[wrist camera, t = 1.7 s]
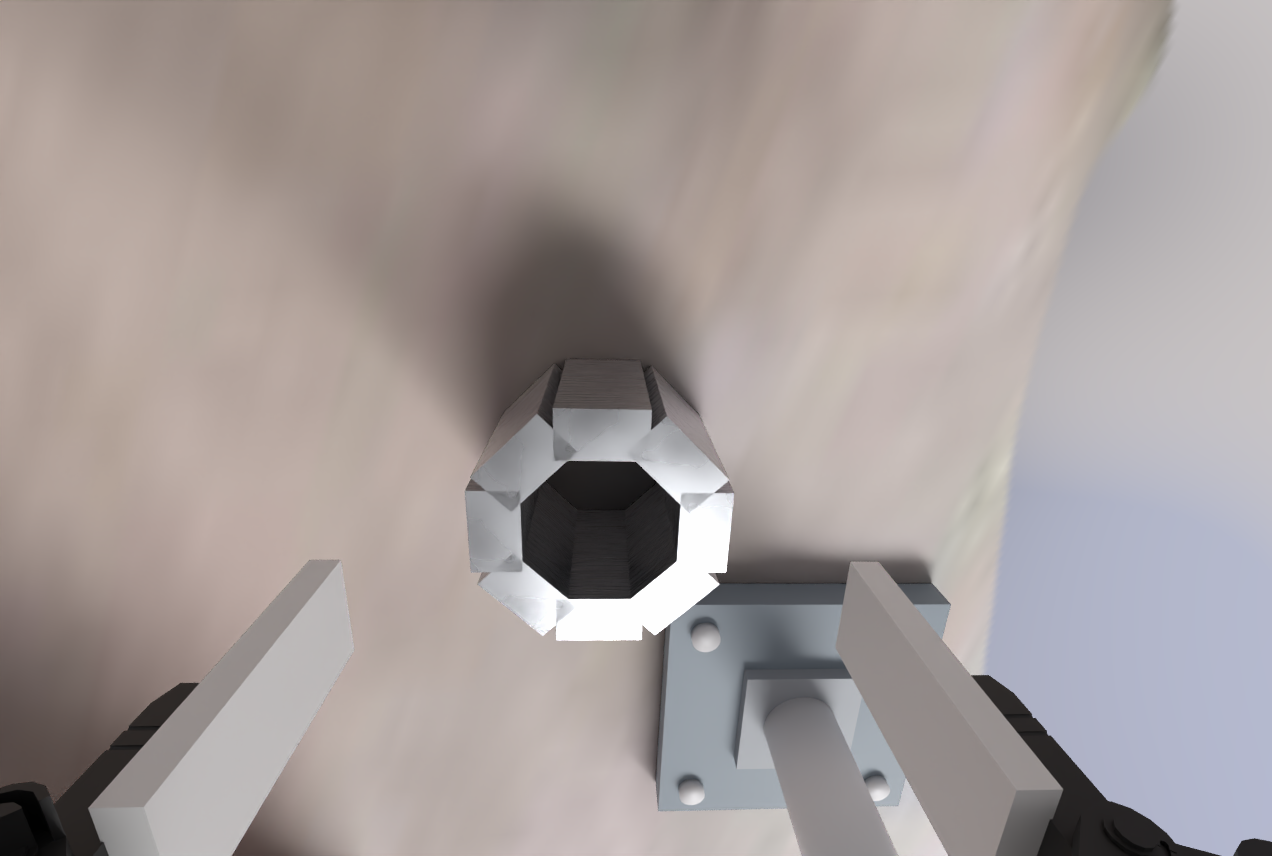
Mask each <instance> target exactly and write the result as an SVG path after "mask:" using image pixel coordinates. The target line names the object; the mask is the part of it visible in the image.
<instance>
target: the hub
mask: <svg viewBox="0 0 1272 856" xmlns="http://www.w3.org/2000/svg"><path fill="white" fill-rule="evenodd" d="M567 461H627V462H637V463H638V464H639V465H640V466H641V467H642V468H643V469H644V470H645V471H646V472H647V473H648V474H649V475H650V476H651V477H652V478H653V479H654V480H655V481H656V482H657V483H656V484H655V485H654V486H653V487H652V488H650V489H649V490H648V491H647V492H646V493H645V494H643V495H642V496H641V497H640V498H639V499H638V500H636V501H635V502H634V503H633V504H632V505H631V506H629V507H628V508H627V509H626V510H577V509H575V508H574V507H573V506H572V505H571V504H570V503H569V502H568V501H566V500H565V499H564V498H563V497H562V496H561V495H560V494H559V493H558V492H556V491H555V490H554V489H553V488H552V487H551V486H550V485H549V484H547V483H546V482H545V481H546V480H547V479H548V478H549V477H550V476H551V475H552V474H553V473H555V472H556V471H557V470H558V469H559V468H560V467H561V466H562V465H563V464H565V463H566V462H567ZM470 478H471V480H470V482H469V484H468V486H467V488H466V490H465V500H466V514H467V527H468V541H469V555H470V568H471V572H482V573H481V576H480V579H479V582H478V585H479V586H480V587H482V588H483V589H484V590H485V591H487V592H488V593H489V594H490V595H492V596H493V597H494V598H495V599H497V600H498V601H499V602H500V603H502V604H503V605H504V606H506V607H507V608H508V609H509V610H511V611H512V612H513V613H514V614H516V615H517V616H518V617H519V618H521V619H522V620H523V621H525V622H526V623H527V624H528V625H530V626H531V627H532V628H533V629H535V630H536V631H537V632H538V633H540V634H541V635H542V636H543V635H544V634H545V633H547V632H548V631H549V630H550V629H551V628H553V627H554V626H555V625H556V640H641V639H642V625H643V626H645V627H646V628H647V629H648V630H649V631H651V632H652V633H653V634H654V635H656V634H657V633H658V632H660V631H661V630H662V629H664V628H665V627H666V626H667V625H669V624H670V623H671V622H672V621H674V620H675V619H676V618H677V617H679V616H680V615H681V614H683V613H684V612H685V611H686V610H688V609H689V608H690V607H691V606H693V605H694V604H695V603H696V602H698V601H699V600H700V599H702V598H703V597H704V596H705V595H707V594H708V593H709V592H710V591H712V590H713V589H714V588H715V587H717V586H718V585H719V582H718V578H717V575H716V573H726V569H727V559H728V549H729V540H730V530H731V520H732V510H733V500H734V492H733V490H732V487H731V485H730V483H729V478H728V476H727V473H726V471H725V469H724V467H723V465H722V463H721V461H720V458H719V456H718V454H717V452H716V450H715V448H714V446H713V443H712V441H711V439H710V437H709V435H708V433H707V431H706V428H705V426H704V424H703V422H702V420H701V418H700V416H699V414H698V413H697V412H696V411H695V410H694V409H693V408H692V407H691V406H690V405H689V404H688V403H687V402H686V401H685V400H684V399H683V398H682V397H681V396H680V394H679V393H678V392H677V391H676V390H675V389H674V388H673V387H672V386H671V385H670V384H669V383H668V382H667V381H666V380H665V379H664V378H663V377H662V376H661V375H660V374H659V373H658V371H657V370H656V369H655V368H654V367H653V366H652V365H651V366H650V367H649V368H648V369H647V370H646V371H645V372H644V373H643V370H642V366H641V361H640V360H600V359H566V361H565V365H564V369H563V371H562V370H561V369H560V368H559V367H558V366H557V365H556V364H555V363H554V364H553V365H552V366H551V367H550V368H549V369H548V370H547V371H546V372H545V373H544V374H543V375H542V376H541V377H540V378H539V379H538V380H537V381H536V382H535V383H534V384H532V385H531V386H530V387H529V388H528V389H527V390H526V391H525V392H524V393H523V394H522V395H521V396H520V397H519V398H518V399H517V400H516V401H515V402H514V403H513V404H512V405H511V406H510V407H509V408H508V409H506V410H505V411H504V413H503V415H502V417H501V419H500V421H499V422H498V424H497V426H496V428H495V430H494V432H493V434H492V436H491V438H490V440H489V442H488V444H487V446H486V448H485V450H484V452H483V453H482V455H481V457H480V459H479V461H478V463H477V465H476V467H475V469H474V471H473V473H472V475H471V477H470Z"/></svg>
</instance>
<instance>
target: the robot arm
mask: <svg viewBox="0 0 1272 856" xmlns="http://www.w3.org/2000/svg"><path fill="white" fill-rule="evenodd" d="M835 648H836V650H837V651H838V653H839V655H840V657H841V659H842V661H843V663H844V664H845V666H846V668H847V670H848V672H849V674H850V675H851V677H852V679H853V681H854V683H855V685H856V686H857V688H858V690H859V692H860V694H861V696H862V698H863V699H864V701H865V703H866V705H867V707H868V709H869V710H870V712H871V714H872V716H873V718H874V720H875V721H876V723H877V725H878V727H879V729H880V731H881V732H882V734H883V736H884V738H885V740H886V742H887V744H888V745H889V747H890V749H891V751H892V753H893V755H894V756H895V758H896V760H897V762H898V764H899V766H900V767H901V769H902V771H903V773H904V775H905V777H906V778H907V780H908V782H909V784H910V786H911V788H912V790H913V791H914V793H915V795H916V797H917V799H918V801H919V802H920V804H921V806H922V808H923V810H924V812H925V813H926V815H927V817H928V819H929V821H930V823H931V825H932V826H933V828H934V830H935V832H936V834H937V836H938V837H939V839H940V841H941V843H942V845H943V847H944V848H945V850H946V852H947V854H948V856H1220V855H1216V854H1212V853H1209V852H1205V851H1201V850H1197V849H1193V848H1190V847H1186V846H1182V845H1179V844H1175V843H1174V842H1173V840H1172V839H1171V838H1170V837H1169V835H1168V834H1167V833H1166V832H1164V831H1163V830H1162V829H1161V828H1160V827H1158V826H1157V825H1156V824H1155V823H1154V822H1152V821H1151V820H1150V819H1148V818H1146V817H1145V816H1143V815H1141V814H1140V813H1138V812H1136V811H1134V810H1133V809H1131V808H1128V807H1125V806H1123V805H1120V804H1117V803H1114V802H1109V801H1107V800H1106V798H1105V797H1104V796H1103V795H1102V794H1101V793H1100V792H1099V790H1098V789H1097V788H1096V787H1095V786H1094V785H1093V783H1092V782H1091V781H1090V780H1089V779H1088V778H1087V777H1086V775H1084V773H1083V772H1082V771H1081V770H1080V769H1079V767H1077V765H1076V764H1075V763H1074V762H1073V761H1072V760H1071V758H1070V757H1069V756H1068V755H1067V754H1066V753H1065V751H1064V750H1063V749H1062V748H1061V747H1060V746H1059V745H1058V743H1057V742H1056V741H1055V740H1054V739H1053V738H1052V737H1051V736H1048V735H1047V731H1046V730H1045V728H1044V727H1043V726H1042V725H1041V724H1040V723H1039V722H1038V721H1037V719H1036V718H1033V717H1032V714H1031V713H1030V711H1029V710H1028V709H1027V708H1026V707H1025V706H1024V704H1022V702H1021V701H1020V700H1019V699H1018V698H1017V696H1016V695H1015V694H1014V693H1013V692H1011V691H1010V690H1009V689H1007V688H1006V687H1004V686H1003V685H1002V684H1000V683H999V682H997V681H996V680H995V679H993V678H992V677H991V676H989V675H970V674H969V673H968V671H967V670H966V669H965V668H964V666H963V665H962V664H961V663H960V661H959V660H958V659H957V658H956V657H955V655H954V654H953V653H952V652H951V650H950V649H949V648H948V647H947V645H946V644H945V643H944V642H943V641H942V639H941V638H940V637H939V636H938V634H937V633H936V632H935V631H934V629H933V628H932V627H931V626H930V625H929V623H928V622H927V621H926V620H925V618H924V617H923V616H922V615H921V613H920V612H919V611H918V610H917V608H916V607H915V606H914V605H913V604H912V602H911V601H910V600H909V599H908V597H907V596H906V595H905V594H904V592H903V591H902V590H901V589H900V588H899V586H898V585H897V584H896V583H895V581H894V580H893V579H892V578H891V576H890V575H889V574H888V573H887V572H886V570H885V569H884V568H883V567H882V565H881V564H880V563H879V562H850V566H849V572H848V578H847V584H846V589H845V595H844V601H843V606H842V612H841V618H840V624H839V629H838V635H837V641H836V647H835ZM353 651H354V644H353V637H352V630H351V624H350V617H349V610H348V604H347V597H346V590H345V584H344V577H343V570H342V564H341V560H309V561H308V562H307V563H306V564H305V566H304V567H303V568H302V569H301V570H300V571H299V572H298V573H297V575H296V576H295V577H294V578H293V579H292V580H291V581H290V582H289V584H288V585H287V586H286V587H285V588H284V589H283V590H282V591H281V593H280V594H279V595H278V596H277V597H276V598H275V599H274V600H273V601H272V603H271V604H270V605H269V606H268V607H267V608H266V609H265V610H264V612H263V613H262V614H261V615H260V616H259V617H258V618H257V619H256V621H255V622H254V623H253V624H252V625H251V626H250V627H249V628H248V630H247V631H246V632H245V633H244V634H243V635H242V636H241V637H240V638H239V640H238V641H237V642H236V643H235V644H234V645H233V646H232V647H231V649H230V650H229V651H228V652H227V653H226V654H225V655H224V656H223V658H222V659H221V660H220V661H219V662H218V663H217V664H216V665H215V667H214V668H213V669H212V670H211V671H210V672H209V673H208V674H207V675H206V677H205V678H204V679H203V680H202V681H201V682H200V683H180V684H179V685H177V686H176V687H174V688H173V689H171V690H170V691H168V692H167V693H165V694H164V695H162V696H161V697H159V698H158V699H156V700H155V701H153V702H152V703H151V704H150V705H149V706H148V707H147V708H146V709H145V710H144V711H143V712H142V713H141V714H140V715H139V716H138V717H137V718H136V719H135V720H134V721H133V722H132V723H131V725H130V726H129V729H128V731H124V732H123V733H122V734H121V735H120V736H119V737H118V738H117V739H116V740H115V741H114V742H113V743H112V744H111V745H110V746H111V747H110V749H109V750H106V751H105V752H104V753H103V754H102V755H101V756H100V757H99V758H98V759H97V760H96V761H95V762H94V763H93V764H92V765H91V766H90V767H89V768H88V769H87V771H86V772H85V773H84V774H83V775H82V776H81V777H80V778H79V779H78V780H77V781H76V782H75V783H74V784H73V785H72V786H71V787H70V788H69V789H68V790H67V791H66V792H65V794H64V795H63V796H62V797H61V798H60V799H59V800H58V801H57V802H56V803H55V804H53V802H52V799H51V797H50V794H49V792H48V790H47V788H46V786H44V785H41V784H37V783H34V782H28V783H18V784H11V785H8V786H5V787H2V788H0V856H232V854H233V853H234V851H235V849H236V848H237V846H238V844H239V843H240V841H241V839H242V838H243V836H244V834H245V833H246V831H247V829H248V827H249V826H250V824H251V822H252V821H253V819H254V817H255V816H256V814H257V812H258V811H259V809H260V807H261V806H262V804H263V802H264V801H265V799H266V797H267V796H268V794H269V792H270V791H271V789H272V787H273V786H274V784H275V782H276V781H277V779H278V777H279V776H280V774H281V772H282V770H283V769H284V767H285V765H286V764H287V762H288V760H289V759H290V757H291V755H292V754H293V752H294V750H295V749H296V747H297V745H298V744H299V742H300V740H301V739H302V737H303V735H304V734H305V732H306V730H307V729H308V727H309V725H310V724H311V722H312V720H313V719H314V717H315V715H316V713H317V712H318V710H319V708H320V707H321V705H322V703H323V702H324V700H325V698H326V697H327V695H328V693H329V692H330V690H331V688H332V687H333V685H334V683H335V682H336V680H337V678H338V677H339V675H340V673H341V672H342V670H343V668H344V667H345V665H346V663H347V661H348V660H349V658H350V656H351V655H352V653H353ZM1234 856H1272V842H1270V841H1265V840H1259V839H1255V838H1254V839H1249V840H1244V841H1241V843H1240V845H1239V846H1238V848H1237V850H1236V852H1235V854H1234Z"/></svg>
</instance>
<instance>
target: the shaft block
mask: <svg viewBox="0 0 1272 856" xmlns="http://www.w3.org/2000/svg"><path fill="white" fill-rule="evenodd" d="M897 585H898V586H899V588H900V589H901V590H902V591H903V592H904V594H905V595H906V596H907V597H908V599H909V600H910V601H911V602H912V604H913V605H914V606H915V607H916V608H917V610H918V611H919V612H920V613H921V615H922V616H923V617H924V618H925V620H926V621H927V622H928V623H929V625H930V626H931V627H932V628H933V629H934V631H935V632H936V633H937V634H938V636H939V637H940V638H941V639H942V637H943V633H944V629H945V625H946V621H947V618H948V614H949V610H950V606H951V604H950V603H949V602H948V601H947V599H946V598H945V597H944V596H943V595H942V594H941V593H940V592H939V590H938V589H937V588H936V587H935V586H934V585H933V584H897ZM845 589H846V584H719V585H718V586H717V587H715V588H714V589H713V590H712V591H710V592H709V593H708V594H707V595H705V596H704V597H703V598H702V599H700V600H699V601H698V602H696V603H695V604H694V605H693V606H691V607H690V608H689V609H688V610H686V611H685V612H684V613H683V614H681V615H680V616H679V617H677V618H676V619H675V620H674V621H672V622H671V623H670V624H669V625H667V626H666V628H665V644H664V660H663V676H662V692H661V708H660V724H659V740H658V756H657V772H656V791H657V802H658V811H693V810H739V809H784V808H787V809H788V812H789V815H790V819H791V822H792V825H793V829H794V832H795V835H796V838H797V842H798V845H799V848H800V851H801V855H802V856H898V854H897V852H896V850H895V847H894V845H893V843H892V841H891V839H890V836H889V834H888V832H887V830H886V828H885V825H884V823H883V821H882V819H881V817H880V814H879V812H878V810H877V808H876V806H898V805H899V801H900V798H901V794H902V790H903V786H904V782H905V779H906V777H905V775H904V773H903V771H902V769H901V767H900V766H899V764H898V762H897V760H896V758H895V756H894V755H893V753H892V751H891V749H890V747H889V745H888V744H887V742H886V740H885V738H884V736H883V734H882V732H881V731H880V729H879V727H878V725H877V723H876V721H875V720H874V718H873V716H872V714H871V712H870V710H869V709H868V707H867V705H866V703H865V701H864V699H863V698H862V696H861V694H860V692H859V690H858V688H857V686H856V685H855V683H854V681H853V679H852V677H851V675H850V674H849V672H848V670H847V668H846V666H845V664H844V663H843V661H842V659H841V657H840V655H839V653H838V651H837V650H836V648H835V647H836V641H837V635H838V629H839V624H840V618H841V612H842V606H843V601H844V595H845Z"/></svg>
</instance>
